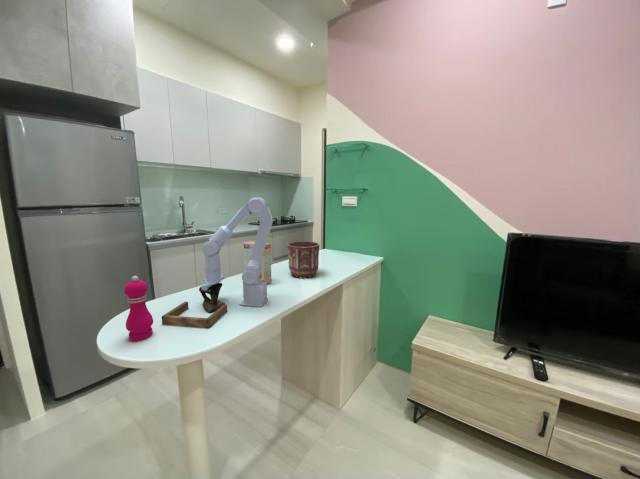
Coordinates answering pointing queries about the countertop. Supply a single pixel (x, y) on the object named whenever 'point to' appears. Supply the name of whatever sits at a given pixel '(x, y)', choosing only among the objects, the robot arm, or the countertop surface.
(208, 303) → the clothes iron
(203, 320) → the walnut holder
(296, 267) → the pottery
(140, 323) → the pepper mill
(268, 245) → the cracker box
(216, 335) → the countertop surface
